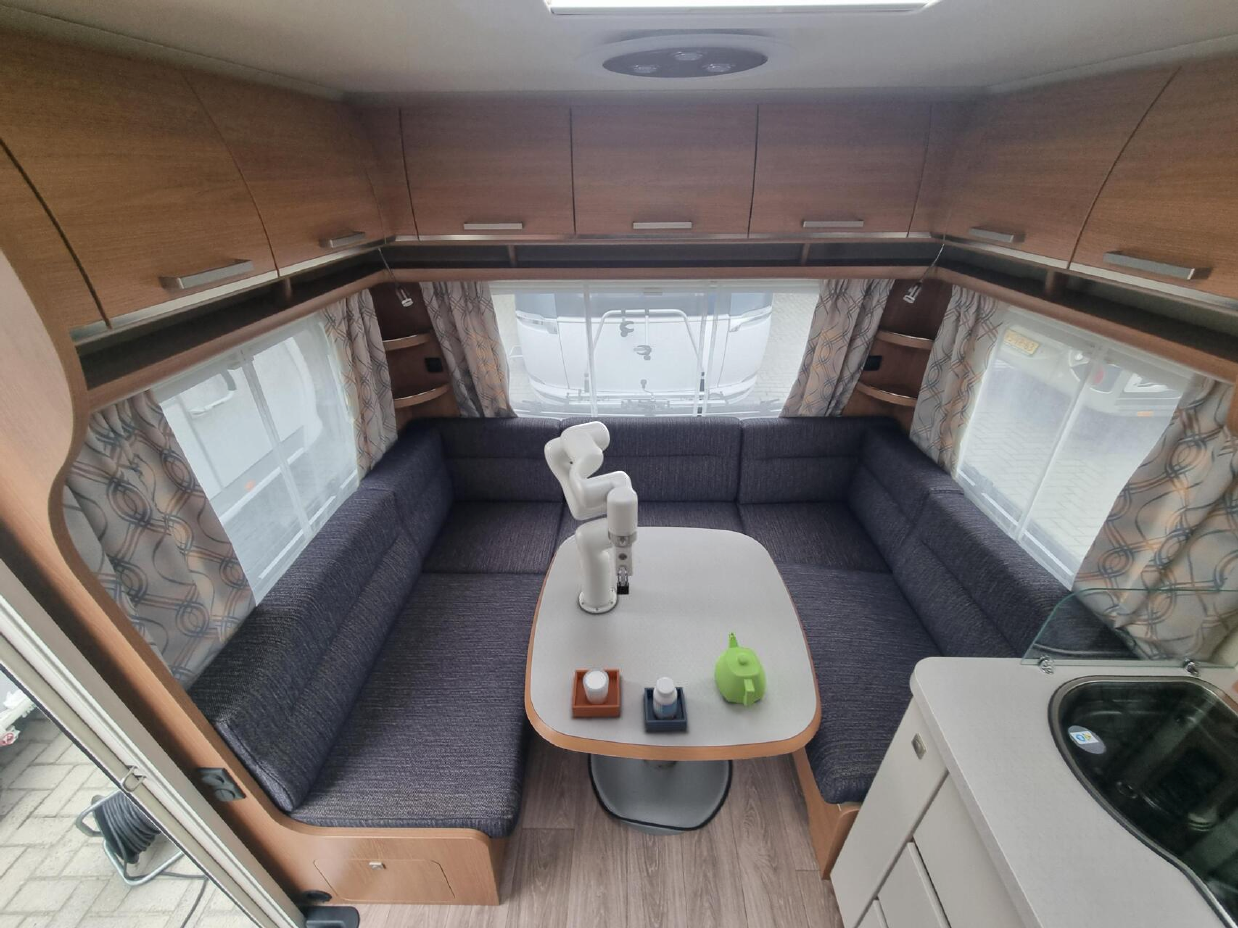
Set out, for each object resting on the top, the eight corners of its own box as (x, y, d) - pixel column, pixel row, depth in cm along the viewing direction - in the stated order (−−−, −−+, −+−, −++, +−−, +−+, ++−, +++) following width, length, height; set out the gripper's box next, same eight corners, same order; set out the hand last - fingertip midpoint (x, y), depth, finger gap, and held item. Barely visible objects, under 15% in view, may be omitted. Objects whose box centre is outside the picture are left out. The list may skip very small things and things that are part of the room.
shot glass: (606, 709, 129) (605, 693, 126) (581, 705, 131) (579, 688, 127) (612, 686, 135) (611, 670, 131) (588, 682, 136) (586, 666, 133)
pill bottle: (678, 704, 130) (680, 678, 124) (673, 725, 125) (674, 699, 119) (656, 698, 132) (657, 671, 126) (650, 718, 127) (650, 692, 121)
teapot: (706, 656, 143) (710, 627, 137) (752, 654, 144) (757, 624, 137) (722, 722, 126) (726, 692, 120) (773, 719, 126) (780, 689, 120)
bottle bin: (644, 696, 133) (644, 687, 131) (681, 695, 133) (682, 686, 131) (646, 731, 124) (646, 722, 122) (686, 730, 124) (686, 721, 122)
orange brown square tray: (576, 678, 138) (575, 669, 136) (619, 678, 138) (619, 669, 136) (573, 716, 128) (572, 707, 126) (619, 716, 128) (619, 706, 126)
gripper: (638, 555, 116) (637, 604, 126) (636, 510, 131) (635, 557, 140) (607, 556, 116) (608, 605, 126) (608, 511, 131) (609, 558, 140)
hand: (622, 580), depth 133 cm, fingers open, 9 cm apart
